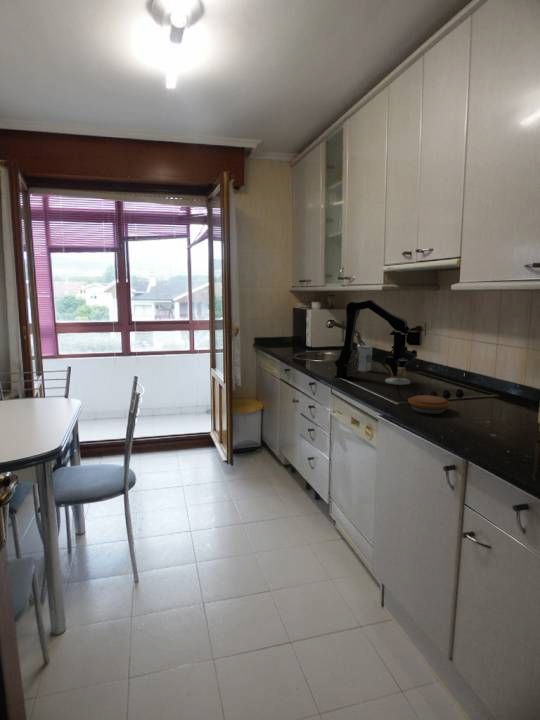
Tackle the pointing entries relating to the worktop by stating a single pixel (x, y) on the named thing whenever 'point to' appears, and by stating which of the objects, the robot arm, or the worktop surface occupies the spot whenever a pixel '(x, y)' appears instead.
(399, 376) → the beech block
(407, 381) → the saucer
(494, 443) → the worktop surface
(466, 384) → the worktop surface
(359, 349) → the syrup box
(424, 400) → the pie
